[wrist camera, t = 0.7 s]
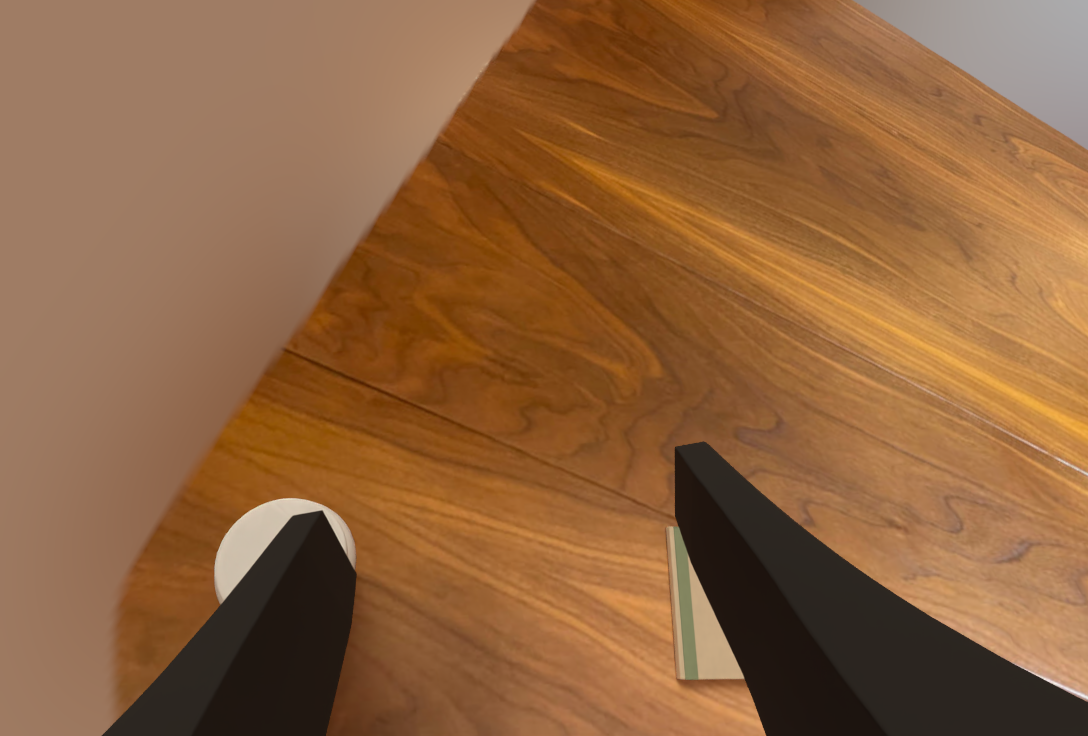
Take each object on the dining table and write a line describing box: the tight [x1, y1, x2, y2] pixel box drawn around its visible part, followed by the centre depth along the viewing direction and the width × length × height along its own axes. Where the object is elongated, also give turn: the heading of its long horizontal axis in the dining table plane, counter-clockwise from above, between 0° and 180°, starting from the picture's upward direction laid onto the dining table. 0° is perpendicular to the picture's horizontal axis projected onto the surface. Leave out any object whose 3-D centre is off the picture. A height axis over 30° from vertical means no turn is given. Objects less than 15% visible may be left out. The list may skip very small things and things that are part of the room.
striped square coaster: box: [666, 526, 744, 680], centre depth 31 cm, size 8×8×1 cm
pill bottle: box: [214, 498, 356, 605], centre depth 21 cm, size 5×5×8 cm
